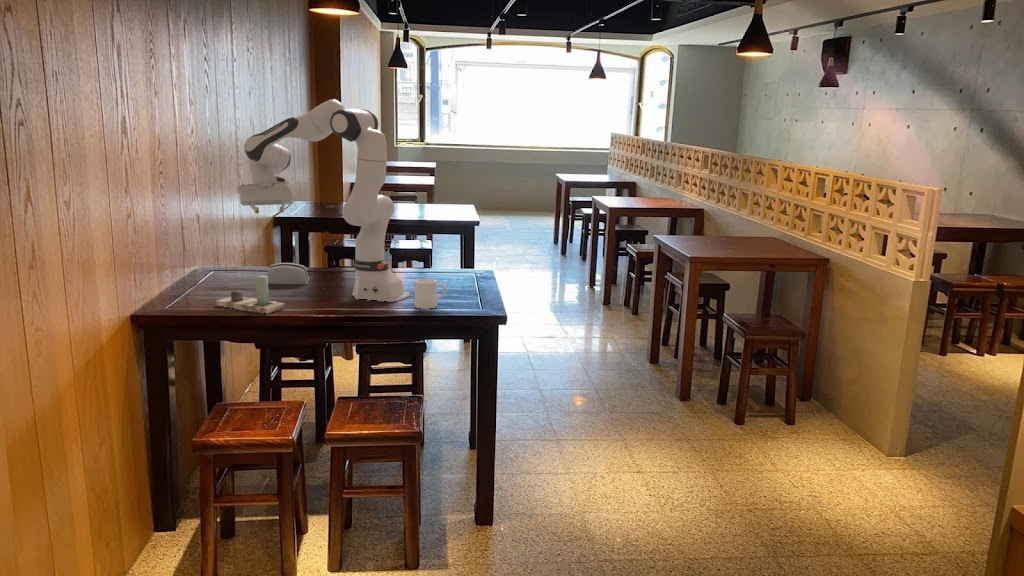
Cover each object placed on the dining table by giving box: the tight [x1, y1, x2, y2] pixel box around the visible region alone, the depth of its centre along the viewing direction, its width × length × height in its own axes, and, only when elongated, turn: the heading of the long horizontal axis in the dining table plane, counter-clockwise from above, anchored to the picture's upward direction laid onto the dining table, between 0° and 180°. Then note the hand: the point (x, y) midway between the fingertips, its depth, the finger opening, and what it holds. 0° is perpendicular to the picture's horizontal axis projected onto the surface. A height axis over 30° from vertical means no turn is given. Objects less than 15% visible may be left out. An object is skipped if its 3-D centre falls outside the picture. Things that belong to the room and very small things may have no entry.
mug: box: [414, 278, 448, 310], centre depth 273 cm, size 8×12×10 cm
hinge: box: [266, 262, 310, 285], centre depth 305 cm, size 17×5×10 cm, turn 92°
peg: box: [255, 275, 270, 306], centre depth 264 cm, size 4×4×12 cm
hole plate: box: [214, 290, 286, 315], centre depth 267 cm, size 24×9×5 cm, turn 67°
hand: (269, 211), depth 286 cm, fingers open, 8 cm apart
